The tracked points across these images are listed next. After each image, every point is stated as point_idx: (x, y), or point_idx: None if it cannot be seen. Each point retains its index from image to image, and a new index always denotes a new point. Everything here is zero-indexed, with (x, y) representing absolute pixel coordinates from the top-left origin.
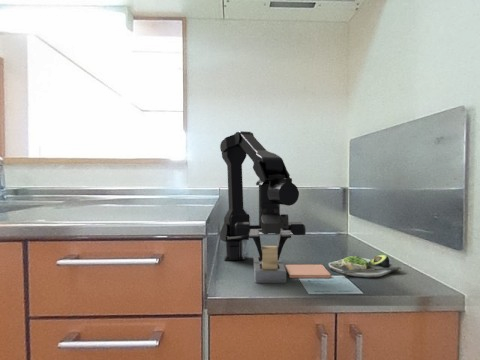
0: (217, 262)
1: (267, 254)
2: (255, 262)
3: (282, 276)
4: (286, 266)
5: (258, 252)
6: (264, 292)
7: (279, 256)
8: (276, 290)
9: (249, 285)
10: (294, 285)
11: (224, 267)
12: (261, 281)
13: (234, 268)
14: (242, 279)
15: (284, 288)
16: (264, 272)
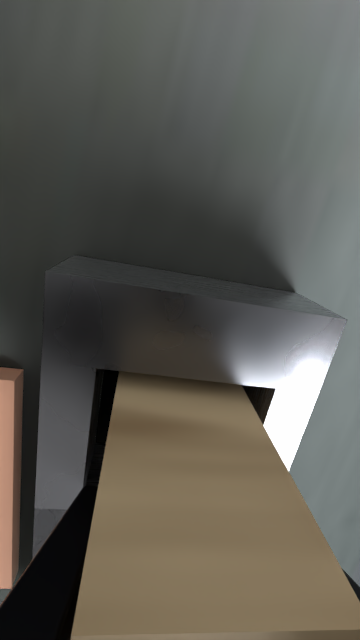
0: None
1: (248, 522)
2: None
3: (97, 270)
4: (9, 556)
5: (354, 583)
6: (316, 27)
7: (61, 520)
8: (204, 60)
9: (353, 243)
10: (18, 172)
11: (350, 573)
12: (260, 287)
13: None
14: (345, 376)
15: (122, 103)
16: (263, 304)
